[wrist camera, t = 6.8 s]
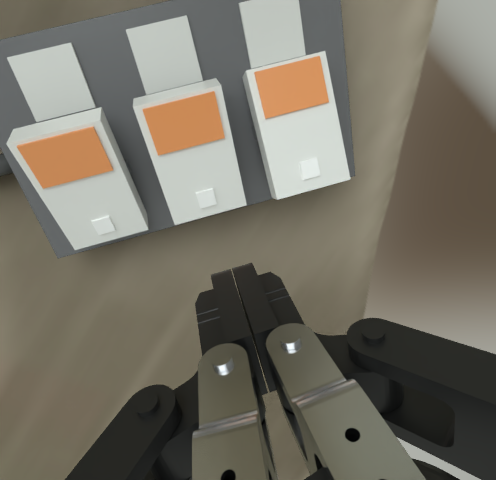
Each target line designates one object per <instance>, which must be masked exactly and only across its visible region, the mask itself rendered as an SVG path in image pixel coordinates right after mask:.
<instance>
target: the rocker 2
mask: <svg viewBox="0 0 496 480" xmlns="http://www.w3.org/2000/svg"><path fill="white" fill-rule="evenodd" d="M242 78H243V83H244V87H245V91H246V95H247V99H248V103H249V107H250V111H251V115H252V119H253V123H254V127H255V131H256V135H257V140H258V144H259V148H260V152H261V156H262V160H263V164H264V168H265V172H266V176H267V180H268V184H269V188H270V192H271V197H272V198H274V199H276V200H278V199H282V198H286V197H289V196H293V195H296V194H300V193H304V192H307V191H311V190H314V189H318V188H322V187H325V186H329V185H332V184H336V183H339V182H343V181H347V180H350V174H349V169H348V164H347V159H346V154H345V149H344V144H343V139H342V133H341V128H340V123H339V118H338V113H337V108H336V103H335V98H334V93H333V88H332V83H331V78H330V73H329V67H328V62H327V57H326V52H325V51H322V52H318V53H314V54H310V55H306V56H302V57H298V58H294V59H290V60H286V61H282V62H278V63H274V64H270V65H266V66H262V67H258V68H254V69H250V70H246V71H245V73H244V75H243V77H242Z"/></svg>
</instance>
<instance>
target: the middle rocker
mask: <svg viewBox="0 0 496 480" xmlns="http://www.w3.org/2000/svg"><path fill="white" fill-rule="evenodd" d="M133 109H134V112H135V114H136V117H137V120H138V123H139V126H140V128H141V131H142V134H143V137H144V140H145V143H146V145H147V148H148V151H149V154H150V157H151V159H152V162H153V165H154V168H155V171H156V173H157V176H158V179H159V182H160V185H161V188H162V190H163V193H164V196H165V199H166V202H167V204H168V207H169V210H170V213H171V216H172V218H173V221H174V224H175V225H177V224H181V223H185V222H188V221H192V220H195V219H199V218H203V217H206V216H210V215H214V214H217V213H221V212H224V211H228V210H232V209H235V208H239V207H242V206H246V205H247V204H246V199H245V195H244V190H243V185H242V181H241V176H240V171H239V167H238V162H237V157H236V153H235V148H234V143H233V139H232V134H231V129H230V124H229V120H228V115H227V110H226V106H225V101H224V96H223V92H222V87H221V84H220V83H219V81H218V80H217V79H216V78H214V79H210V80H206V81H202V82H198V83H194V84H190V85H186V86H182V87H178V88H174V89H170V90H166V91H162V92H158V93H154V94H150V95H146V96H142V97H138V98H134V99H133Z"/></svg>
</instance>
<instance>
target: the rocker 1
mask: <svg viewBox="0 0 496 480" xmlns="http://www.w3.org/2000/svg"><path fill="white" fill-rule="evenodd" d="M6 144H7V146H8V147H9V149H10V151H11V152H12V154H13V155H14V157H15V158H16V160H17V161H18V163H19V164H20V166H21V168H22V169H23V171H24V172H25V174H26V175H27V177H28V178H29V180H30V181H31V183H32V185H33V186H34V188H35V189H36V191H37V192H38V194H39V195H40V197H41V199H42V200H43V202H44V203H45V205H46V206H47V208H48V209H49V211H50V212H51V214H52V216H53V217H54V219H55V220H56V222H57V223H58V225H59V226H60V228H61V229H62V231H63V233H64V234H65V236H66V237H67V239H68V240H69V242H70V243H71V245H72V246H73V248H74V250H78V249H81V248H85V247H88V246H92V245H96V244H99V243H103V242H106V241H110V240H114V239H117V238H121V237H125V236H128V235H132V234H135V233H139V232H143V231H146V230H149V229H148V217H147V212H146V210H145V208H144V205H143V203H142V201H141V198H140V196H139V194H138V191H137V189H136V187H135V184H134V182H133V180H132V177H131V175H130V173H129V170H128V168H127V166H126V163H125V161H124V159H123V156H122V154H121V152H120V149H119V147H118V145H117V142H116V140H115V137H114V135H113V133H112V130H111V128H110V126H109V123H108V121H107V119H106V116H105V114H104V112H103V109H102V107H100V108H96V109H92V110H88V111H84V112H80V113H76V114H72V115H68V116H64V117H60V118H56V119H52V120H48V121H44V122H40V123H36V124H32V125H28V126H24V127H20V128H16V129H13V131H12V133H11V135H10V137H9V139H8V141H7V143H6Z"/></svg>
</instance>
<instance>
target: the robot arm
mask: <svg viewBox="0 0 496 480" xmlns="http://www.w3.org/2000/svg"><path fill="white" fill-rule="evenodd" d="M232 270H233V274H234V277H235V281H236V284H237V288H238V291H239V294H238V291H237V288H236V285H235V282H234V278H233V275H232V272H231V269H229V270H226V271H222V272H219V273H216V274H212V275H211V279H212V283H213V288H214V289H212V290H209V291H205V292H202V293H200V294H199V296H198V298H197V301H196V303H195V306H196V314H197V321H198V328H199V335H200V343H201V350H202V358H201V359H200V361H199V364H198V371H197V372H196V374H195V375H194V376H193V377H192V378H191V379H190V380H188V381H187V382H185V383H184V384H182V385H181V386H179V387H177V388H176V389H174V390H173V391H172V389H171V388H169V387H168V386H165V385H152V386H148V387H146V388H143V389H142V390H140V391H138V392H137V393H136V394H134V395H133V396H132V397H131V398H130V399H129V400H128V402H127V403H126V404H125V405H124V407H123V408H122V409H121V410H120V412H119V413H118V414H117V415H116V417H115V418H114V419H113V420H112V422H111V423H110V424H109V425H108V427H107V428H106V429H105V430H104V432H103V433H102V434H101V435H100V437H99V438H98V439H97V440H96V442H95V443H94V444H93V445H92V447H91V448H90V449H89V450H88V452H87V453H86V454H85V455H84V457H83V458H82V459H81V460H80V461H79V463H78V464H77V465H76V466H75V468H74V469H73V470H72V471H71V473H70V474H69V475H68V476H67V478H66V479H65V480H278V476H277V471H276V466H275V460H274V455H273V450H272V445H271V440H270V435H269V430H268V425H267V420H266V417H265V405H264V401H263V398H262V395H263V394H266V393H268V392H267V389H266V385H265V381H264V378H263V374H262V371H261V367H260V363H261V366H262V369H263V372H264V375H265V379H266V382H267V385H268V388H269V391H270V392H272V391H275V390H277V393H278V395H279V398H280V402H281V405H282V409H283V413H284V415H285V418H286V420H287V422H288V425H289V427H290V429H291V432H292V434H293V436H294V438H295V441H296V443H297V445H298V448H299V450H300V452H301V454H302V457H303V459H304V461H305V464H306V466H307V468H308V471H309V473H310V476H309V477H307V478H306V479H304V480H460V479H458V478H456V477H454V476H452V475H450V474H449V473H447V472H445V471H443V470H441V469H439V468H437V467H435V466H433V465H430V464H428V463H426V462H423V461H419V460H416V459H412V458H411V457H410V456H409V455H408V453H407V452H406V450H405V449H404V448H403V446H402V445H401V443H400V442H399V441H398V439H397V438H396V437H398V438H400V439H402V440H404V441H406V442H408V443H410V444H412V445H414V446H416V447H418V448H420V449H422V450H424V451H426V452H428V453H430V454H432V455H434V456H436V457H438V458H440V459H442V460H444V461H446V462H448V463H450V464H452V465H454V466H456V467H458V468H460V469H462V470H464V471H466V472H467V473H469V474H471V475H474V476H475V477H477V478H479V479H481V480H496V354H493V353H490V352H486V351H483V350H480V349H477V348H474V347H470V346H467V345H464V344H460V343H457V342H454V341H451V340H448V339H444V338H441V337H438V336H435V335H432V334H429V333H425V332H422V331H419V330H416V329H412V328H409V327H406V326H403V325H400V324H396V323H393V322H390V321H387V320H383V319H379V318H367V319H362V320H359V321H357V322H355V323H354V324H353V325H351V327H350V328H349V329H348V331H347V335H335V336H327V335H321V334H317V333H315V332H313V331H312V329H310V328H309V327H308V326H306V325H305V324H304V322H303V321H302V319H301V317H300V315H299V313H298V311H297V309H296V307H295V305H294V303H293V301H292V299H291V298H290V296H289V294H288V292H287V290H286V289H285V286H284V284H283V282H282V280H281V278H279V277H278V276H276V275H275V274H273V273H271V272H268V273H265V274H262V275H257V273H256V271H255V268H254V266H253V264H252V263H249V264H246V265H242V266H239V267H235V268H232ZM239 295H240V297H239ZM240 299H241V300H240ZM241 302H242V304H241ZM242 306H243V307H242ZM243 309H244V310H243ZM244 312H245V313H244ZM249 328H250V329H249ZM253 341H254V342H253ZM254 344H255V346H254ZM255 347H256V349H255ZM256 350H257V353H258V356H257V353H256ZM258 357H259V360H260V363H259V360H258Z"/></svg>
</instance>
